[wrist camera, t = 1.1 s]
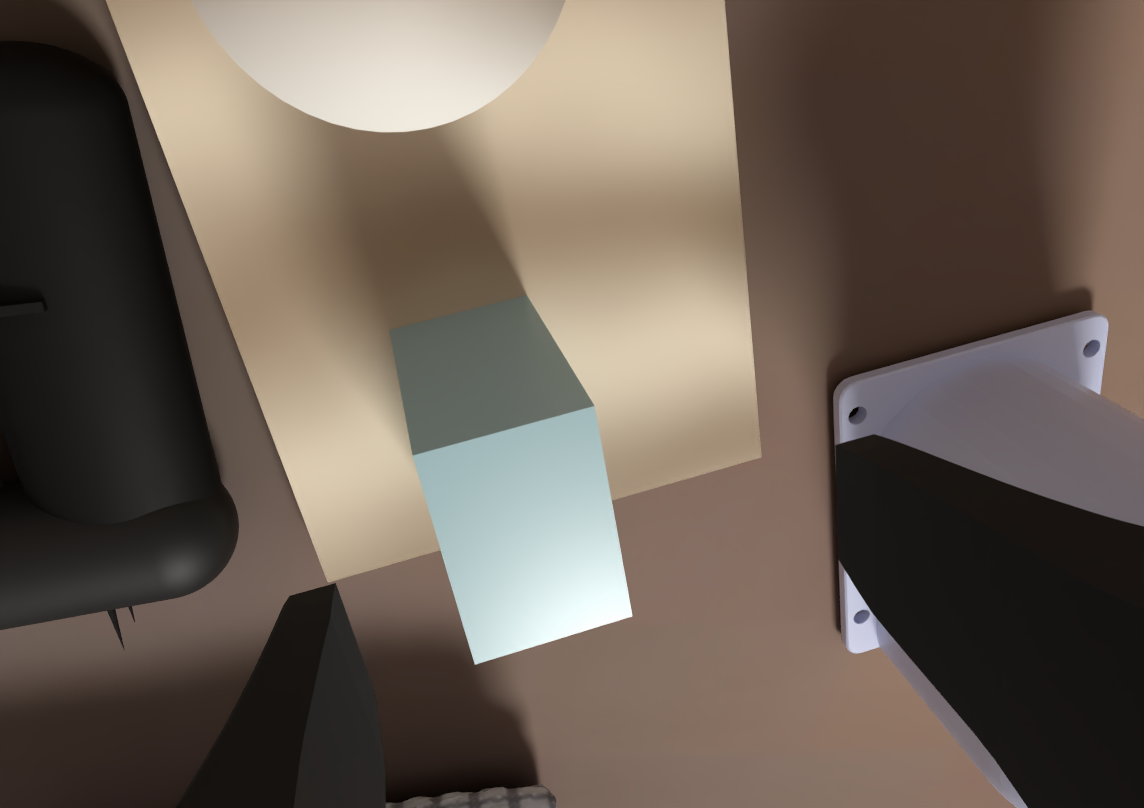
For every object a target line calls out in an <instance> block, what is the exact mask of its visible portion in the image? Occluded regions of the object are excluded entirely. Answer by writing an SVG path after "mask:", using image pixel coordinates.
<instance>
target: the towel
mask: <svg viewBox="0 0 1144 808" xmlns="http://www.w3.org/2000/svg"><path fill="white" fill-rule="evenodd" d="M386 808H556V799H555V796H553V795H552V794H551V793H550V791H549V790H548V789H547V788H545V787H544V786H543V785H534V786H530V787H522V788H515V789H507V788H504V787H495V788H488V789H483V790H481V791H480V792H476V793H472V792H466V793H465V792H463V793H461V792H452V793H446V794H443V795H441V796H439V797H434V798H431V797H423V796H419V797H414V798H411V799H409V800H406V801H404V802H400V803H389V802H386Z"/></svg>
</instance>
